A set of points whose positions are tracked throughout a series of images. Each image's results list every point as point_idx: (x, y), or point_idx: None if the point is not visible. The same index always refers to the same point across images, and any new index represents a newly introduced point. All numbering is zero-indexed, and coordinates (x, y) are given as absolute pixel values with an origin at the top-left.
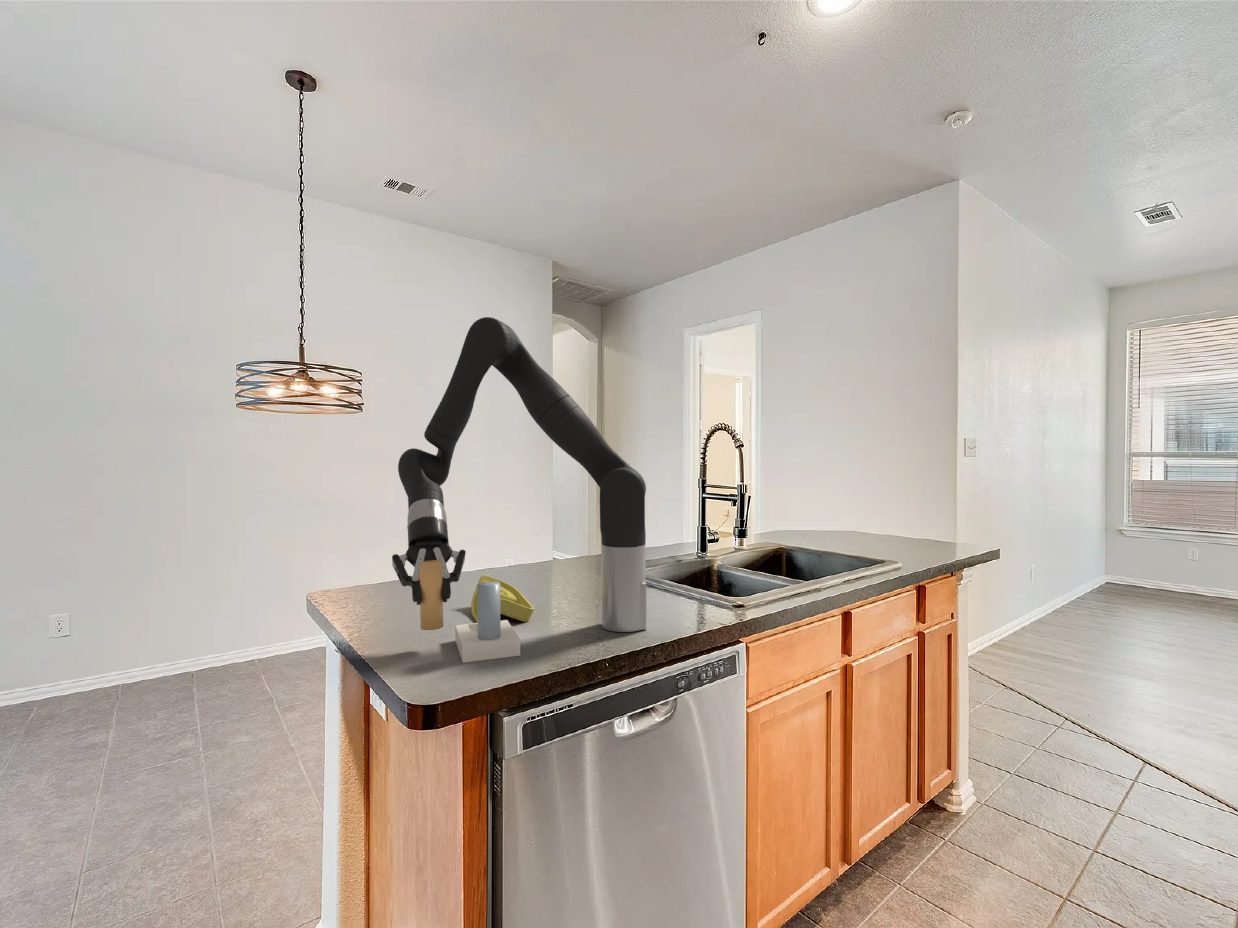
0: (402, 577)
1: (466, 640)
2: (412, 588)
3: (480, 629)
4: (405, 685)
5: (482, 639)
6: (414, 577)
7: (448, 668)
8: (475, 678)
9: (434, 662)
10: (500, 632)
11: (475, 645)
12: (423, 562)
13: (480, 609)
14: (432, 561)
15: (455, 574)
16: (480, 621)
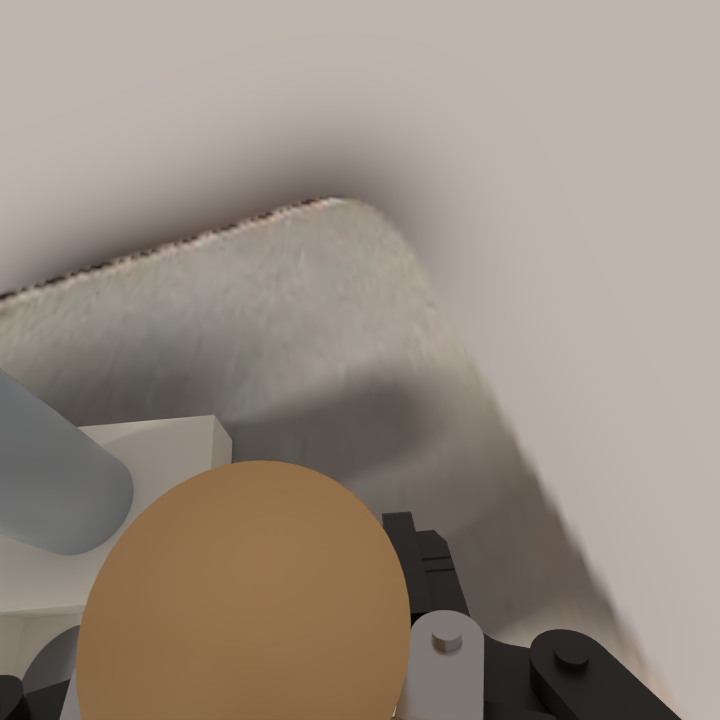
0: (590, 642)
1: (187, 476)
2: (457, 586)
3: (108, 454)
4: (412, 305)
5: (122, 461)
6: (456, 629)
7: (285, 402)
8: (218, 306)
9: (330, 474)
10: (10, 558)
11: (165, 421)
12: (349, 622)
13: (56, 416)
14: (214, 668)
15: (11, 675)
16: (89, 440)
